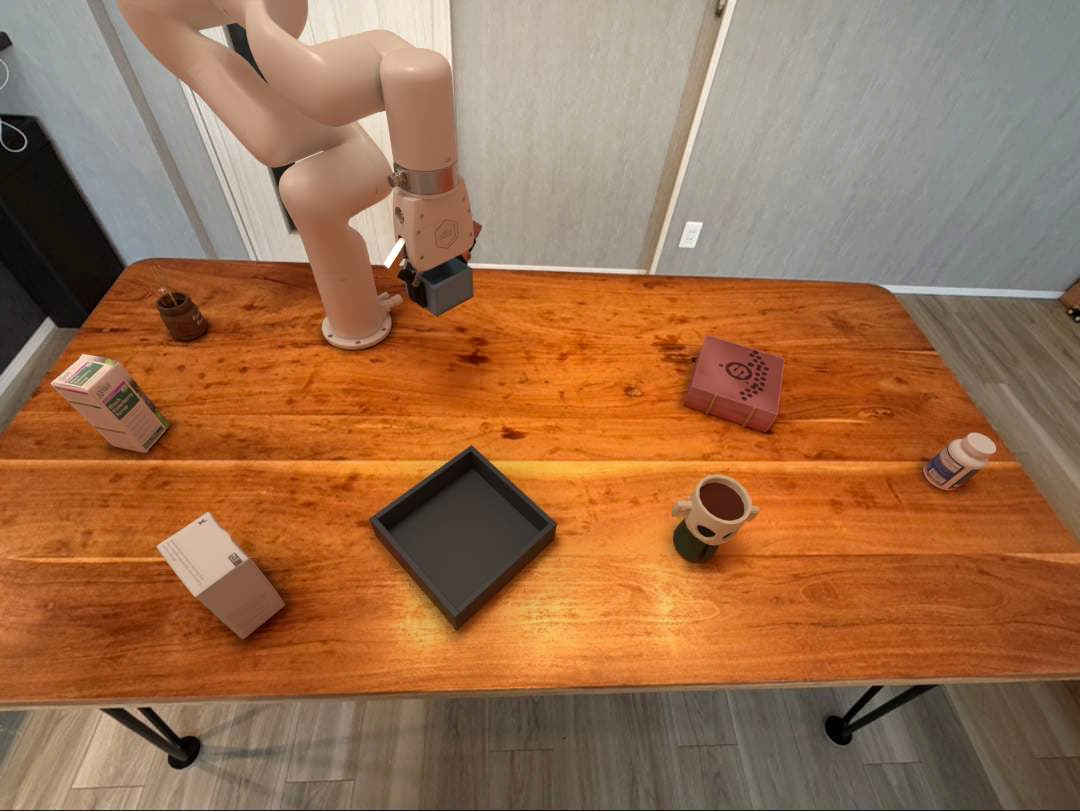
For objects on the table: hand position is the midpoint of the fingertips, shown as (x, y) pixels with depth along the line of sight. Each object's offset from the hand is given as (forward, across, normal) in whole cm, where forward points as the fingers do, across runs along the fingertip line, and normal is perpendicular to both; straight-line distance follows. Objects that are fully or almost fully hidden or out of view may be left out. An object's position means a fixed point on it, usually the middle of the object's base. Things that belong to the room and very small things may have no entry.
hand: (440, 291), depth 76 cm
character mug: (+20, +5, -48) cm, 52 cm away
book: (+20, +35, -36) cm, 54 cm away
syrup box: (+19, -42, +23) cm, 52 cm away
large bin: (+20, -18, -24) cm, 36 cm away
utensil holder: (+19, -26, +42) cm, 53 cm away
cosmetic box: (+20, -42, -12) cm, 48 cm away
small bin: (+1, 0, 0) cm, 1 cm away
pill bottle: (+21, +45, -70) cm, 86 cm away
